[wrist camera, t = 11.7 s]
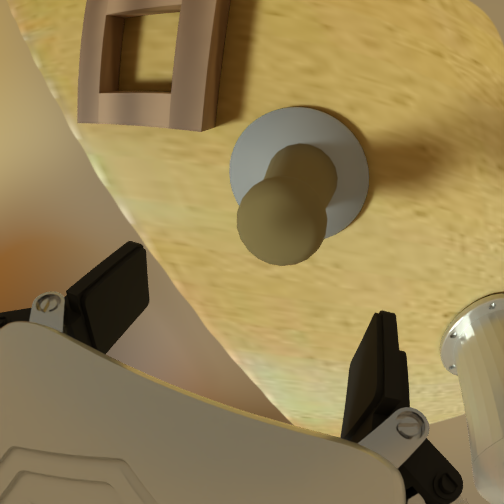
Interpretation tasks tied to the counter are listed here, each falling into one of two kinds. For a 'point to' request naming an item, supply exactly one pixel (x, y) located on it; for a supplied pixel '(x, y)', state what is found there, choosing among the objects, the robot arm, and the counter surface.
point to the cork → (288, 206)
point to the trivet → (304, 132)
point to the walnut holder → (184, 71)
